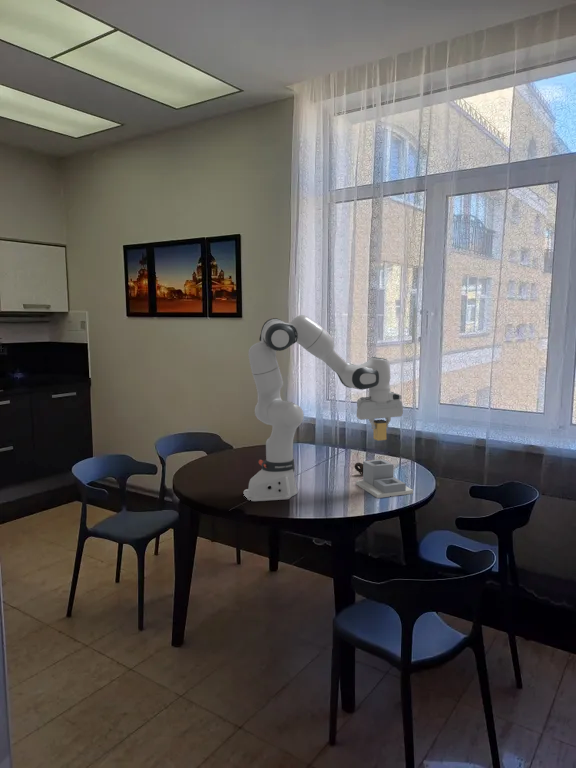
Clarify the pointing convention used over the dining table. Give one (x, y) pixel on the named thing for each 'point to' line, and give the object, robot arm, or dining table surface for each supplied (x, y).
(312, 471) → the dining table surface
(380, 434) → the plug
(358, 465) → the pottery mug
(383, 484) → the square socket stand
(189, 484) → the dining table surface
